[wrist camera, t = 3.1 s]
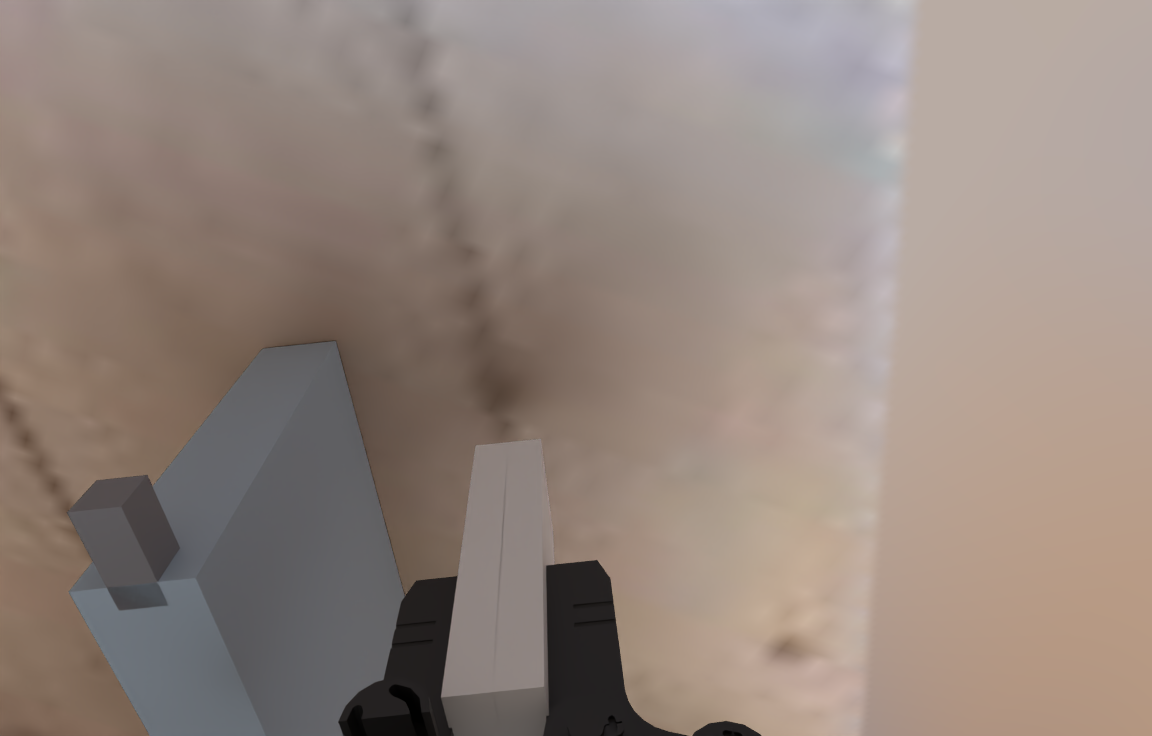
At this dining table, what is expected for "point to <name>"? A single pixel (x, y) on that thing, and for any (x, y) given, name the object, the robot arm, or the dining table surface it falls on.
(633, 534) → the dining table surface
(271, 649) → the gate
